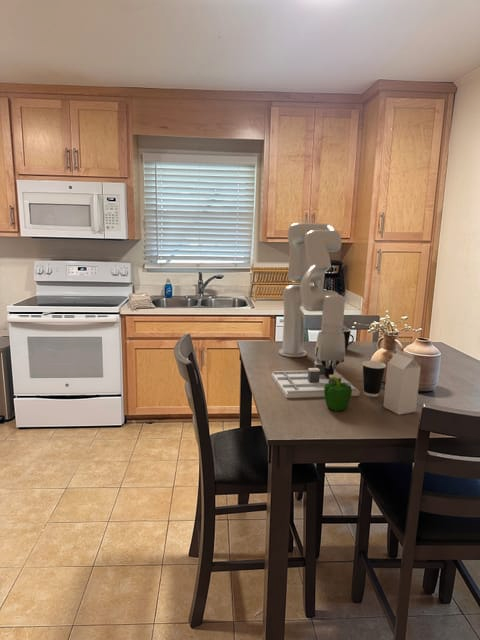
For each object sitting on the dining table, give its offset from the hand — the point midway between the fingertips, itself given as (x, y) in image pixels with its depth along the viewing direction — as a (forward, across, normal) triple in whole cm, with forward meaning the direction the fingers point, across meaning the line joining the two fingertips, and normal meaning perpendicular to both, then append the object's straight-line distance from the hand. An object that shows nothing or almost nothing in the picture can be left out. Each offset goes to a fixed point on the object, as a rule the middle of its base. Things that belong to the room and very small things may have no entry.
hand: (328, 377), depth 165 cm
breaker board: (+3, +6, 0) cm, 6 cm away
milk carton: (+3, -15, +24) cm, 29 cm away
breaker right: (+1, +1, +8) cm, 8 cm away
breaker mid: (+1, +6, 0) cm, 6 cm away
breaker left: (+1, +1, -8) cm, 8 cm away
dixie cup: (+3, -12, +10) cm, 16 cm away
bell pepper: (+3, +5, +21) cm, 22 cm away
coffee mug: (+3, -24, -46) cm, 52 cm away
